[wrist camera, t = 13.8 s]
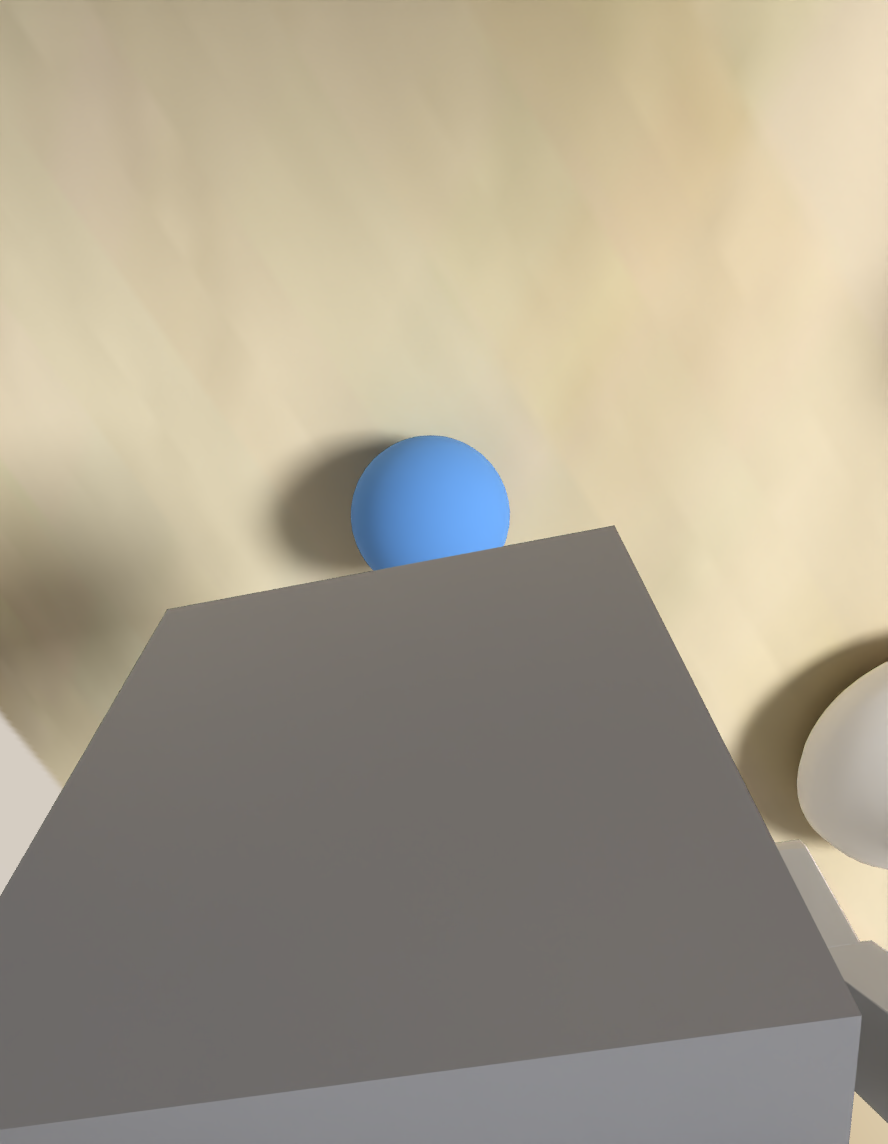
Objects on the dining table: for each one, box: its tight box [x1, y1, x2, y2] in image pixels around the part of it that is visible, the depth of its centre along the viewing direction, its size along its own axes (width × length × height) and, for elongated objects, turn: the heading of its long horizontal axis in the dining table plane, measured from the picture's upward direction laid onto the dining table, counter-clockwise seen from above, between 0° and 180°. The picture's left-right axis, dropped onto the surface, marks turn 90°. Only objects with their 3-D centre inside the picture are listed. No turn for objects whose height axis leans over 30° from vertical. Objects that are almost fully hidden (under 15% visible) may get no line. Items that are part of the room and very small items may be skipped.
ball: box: [351, 435, 510, 571], centre depth 24 cm, size 5×5×5 cm
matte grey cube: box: [0, 526, 862, 1144], centre depth 11 cm, size 7×7×8 cm
